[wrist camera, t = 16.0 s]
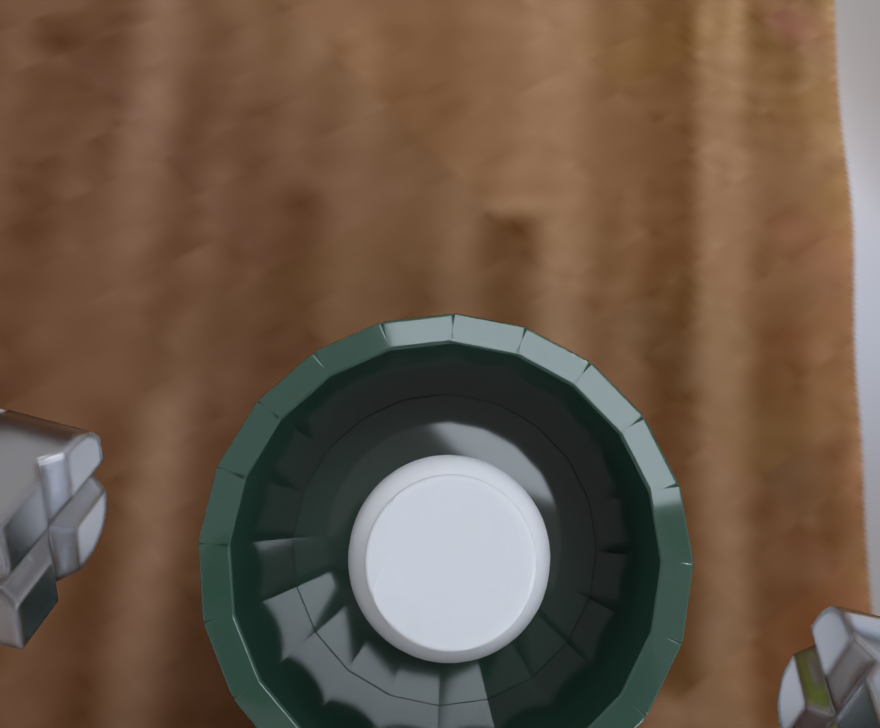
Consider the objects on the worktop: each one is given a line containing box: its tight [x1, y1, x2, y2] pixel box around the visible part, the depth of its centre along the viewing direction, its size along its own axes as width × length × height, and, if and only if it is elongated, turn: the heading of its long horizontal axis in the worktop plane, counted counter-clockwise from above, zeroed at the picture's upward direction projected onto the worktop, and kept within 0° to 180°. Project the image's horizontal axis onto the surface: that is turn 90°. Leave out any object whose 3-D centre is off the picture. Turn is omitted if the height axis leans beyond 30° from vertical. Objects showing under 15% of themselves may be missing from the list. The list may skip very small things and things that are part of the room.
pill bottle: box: [348, 455, 550, 663], centre depth 23 cm, size 5×5×10 cm
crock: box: [198, 314, 693, 728], centre depth 24 cm, size 12×12×9 cm
